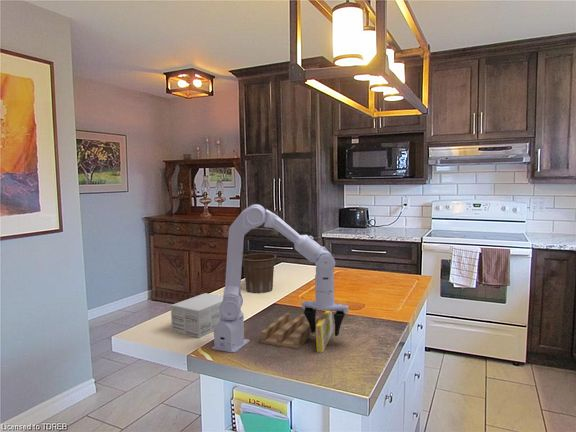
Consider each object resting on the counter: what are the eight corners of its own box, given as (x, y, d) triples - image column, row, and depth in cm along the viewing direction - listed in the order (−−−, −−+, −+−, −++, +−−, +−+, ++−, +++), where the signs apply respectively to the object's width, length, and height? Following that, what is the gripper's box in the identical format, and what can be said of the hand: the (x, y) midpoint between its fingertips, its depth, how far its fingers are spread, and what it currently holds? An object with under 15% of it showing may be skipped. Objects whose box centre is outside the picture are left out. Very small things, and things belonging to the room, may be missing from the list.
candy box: (326, 332, 133) (326, 308, 132) (333, 333, 132) (333, 308, 131) (315, 352, 117) (315, 324, 116) (322, 353, 116) (322, 325, 116)
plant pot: (268, 296, 176) (267, 260, 174) (235, 293, 181) (234, 258, 180) (281, 287, 191) (281, 254, 190) (251, 285, 196) (250, 252, 195)
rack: (298, 348, 119) (298, 337, 119) (260, 342, 124) (260, 331, 124) (319, 326, 138) (319, 316, 137) (286, 322, 143) (286, 312, 142)
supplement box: (205, 317, 151) (204, 292, 150) (232, 322, 144) (232, 297, 143) (170, 331, 136) (169, 304, 136) (199, 338, 129) (198, 310, 129)
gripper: (351, 288, 124) (351, 331, 125) (307, 285, 130) (307, 326, 131) (345, 294, 118) (345, 339, 119) (299, 290, 123) (299, 333, 124)
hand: (325, 333), depth 124 cm, fingers open, 7 cm apart
